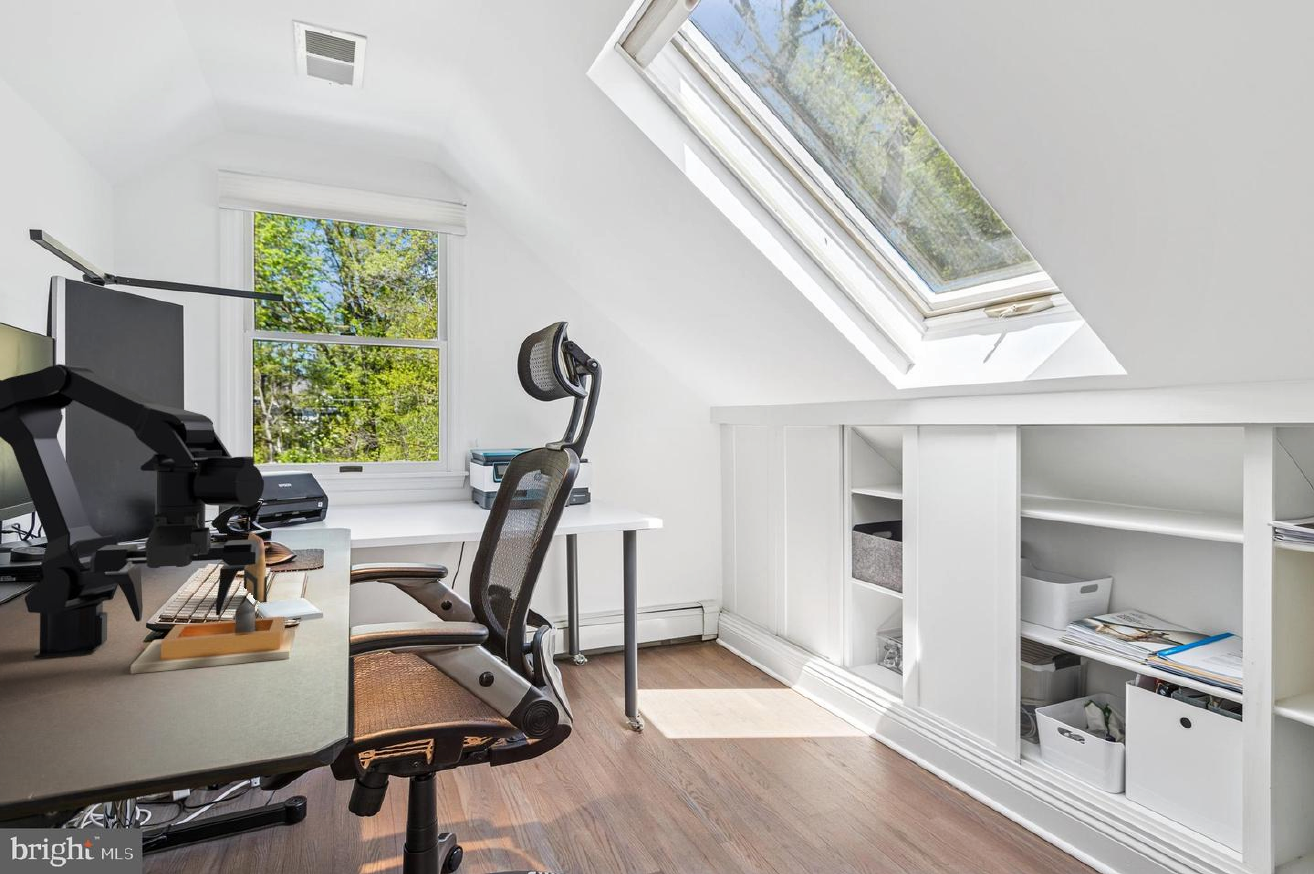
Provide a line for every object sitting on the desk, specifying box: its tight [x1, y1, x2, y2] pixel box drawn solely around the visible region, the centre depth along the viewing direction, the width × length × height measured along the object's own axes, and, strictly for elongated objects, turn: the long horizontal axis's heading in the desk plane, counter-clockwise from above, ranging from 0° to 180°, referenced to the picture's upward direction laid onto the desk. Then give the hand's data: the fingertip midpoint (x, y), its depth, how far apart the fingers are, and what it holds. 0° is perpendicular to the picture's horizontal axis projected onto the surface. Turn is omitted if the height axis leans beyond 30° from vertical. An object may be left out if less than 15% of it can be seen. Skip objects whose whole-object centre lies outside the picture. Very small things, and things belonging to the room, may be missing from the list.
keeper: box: [130, 602, 296, 675], centre depth 100 cm, size 18×12×7 cm, turn 114°
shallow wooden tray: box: [161, 616, 286, 660], centre depth 100 cm, size 14×9×2 cm, turn 114°
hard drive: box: [257, 597, 324, 622], centre depth 121 cm, size 2×8×12 cm
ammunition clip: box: [243, 531, 268, 603], centre depth 129 cm, size 11×2×12 cm, turn 40°
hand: (179, 617), depth 98 cm, fingers open, 9 cm apart
